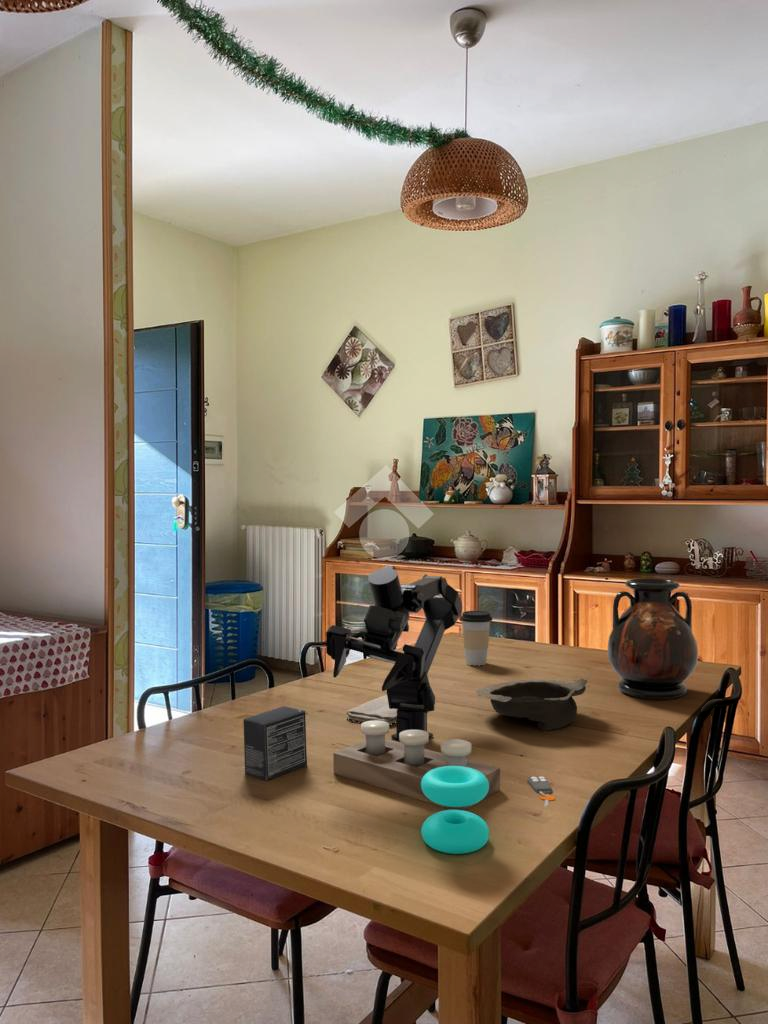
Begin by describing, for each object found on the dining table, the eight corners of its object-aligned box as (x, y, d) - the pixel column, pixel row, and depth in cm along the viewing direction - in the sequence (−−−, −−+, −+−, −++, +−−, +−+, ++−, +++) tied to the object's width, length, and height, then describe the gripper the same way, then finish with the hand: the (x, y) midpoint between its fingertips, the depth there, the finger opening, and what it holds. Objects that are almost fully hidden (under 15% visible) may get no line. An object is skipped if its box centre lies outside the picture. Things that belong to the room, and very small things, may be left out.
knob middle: (411, 755, 144) (411, 727, 144) (434, 762, 141) (434, 733, 141) (393, 763, 140) (393, 734, 140) (417, 770, 137) (416, 740, 137)
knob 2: (452, 766, 138) (452, 737, 138) (477, 773, 135) (477, 743, 135) (434, 775, 134) (434, 745, 134) (460, 782, 131) (460, 751, 131)
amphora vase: (684, 682, 208) (684, 576, 207) (709, 704, 187) (710, 586, 186) (600, 680, 210) (600, 576, 209) (616, 703, 189) (616, 586, 188)
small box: (284, 758, 153) (283, 704, 153) (308, 765, 149) (307, 710, 149) (242, 773, 145) (241, 717, 145) (266, 782, 141) (265, 723, 141)
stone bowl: (594, 738, 163) (591, 693, 162) (473, 740, 168) (469, 697, 167) (588, 703, 187) (585, 664, 187) (482, 706, 192) (479, 668, 192)
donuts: (502, 774, 117) (458, 793, 110) (503, 841, 117) (459, 864, 110) (451, 758, 124) (406, 775, 117) (451, 821, 124) (407, 841, 117)
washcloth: (343, 722, 177) (343, 709, 177) (384, 703, 193) (384, 690, 193) (388, 730, 171) (388, 716, 171) (427, 709, 187) (427, 696, 186)
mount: (375, 755, 154) (375, 736, 154) (500, 789, 136) (499, 768, 136) (333, 773, 145) (333, 752, 145) (461, 812, 127) (460, 789, 127)
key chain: (524, 783, 141) (524, 774, 141) (545, 782, 141) (545, 774, 141) (544, 813, 128) (544, 804, 128) (566, 812, 128) (566, 803, 128)
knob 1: (373, 745, 150) (373, 718, 150) (395, 751, 147) (394, 723, 146) (355, 753, 146) (355, 725, 146) (377, 759, 143) (376, 730, 142)
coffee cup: (455, 661, 235) (455, 611, 234) (484, 659, 237) (484, 609, 237) (468, 668, 226) (467, 616, 225) (498, 665, 228) (497, 614, 228)
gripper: (342, 583, 150) (308, 634, 138) (436, 606, 145) (410, 662, 133) (342, 628, 156) (310, 681, 144) (433, 651, 151) (407, 709, 139)
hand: (358, 682), depth 140 cm, fingers open, 9 cm apart
